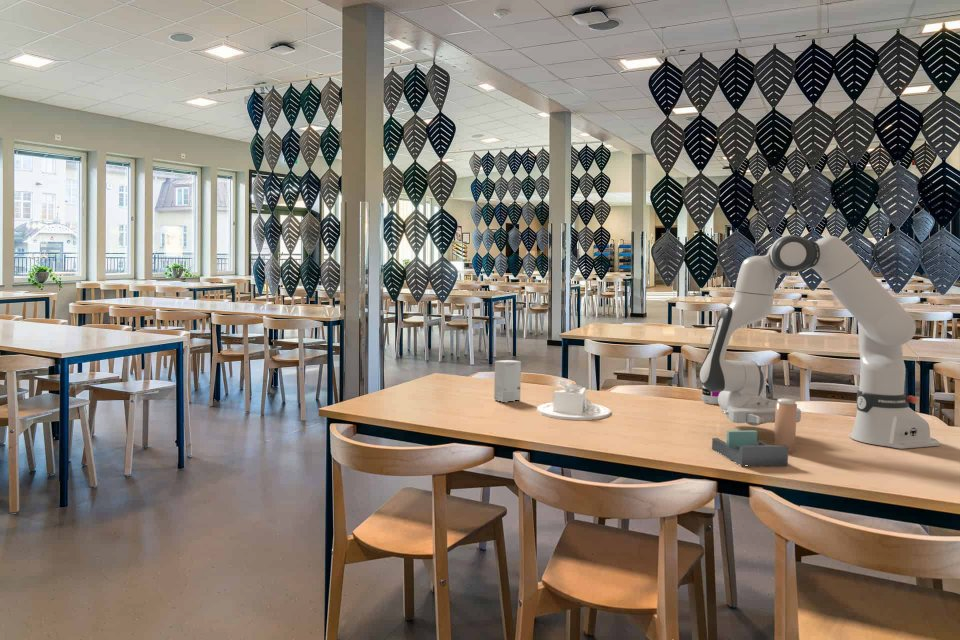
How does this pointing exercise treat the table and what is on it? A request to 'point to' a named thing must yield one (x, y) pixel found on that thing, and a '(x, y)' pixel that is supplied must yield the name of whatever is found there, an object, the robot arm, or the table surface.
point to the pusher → (741, 438)
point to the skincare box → (507, 380)
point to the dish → (572, 405)
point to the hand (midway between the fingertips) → (777, 420)
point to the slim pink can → (785, 423)
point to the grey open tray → (753, 453)
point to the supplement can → (709, 396)
